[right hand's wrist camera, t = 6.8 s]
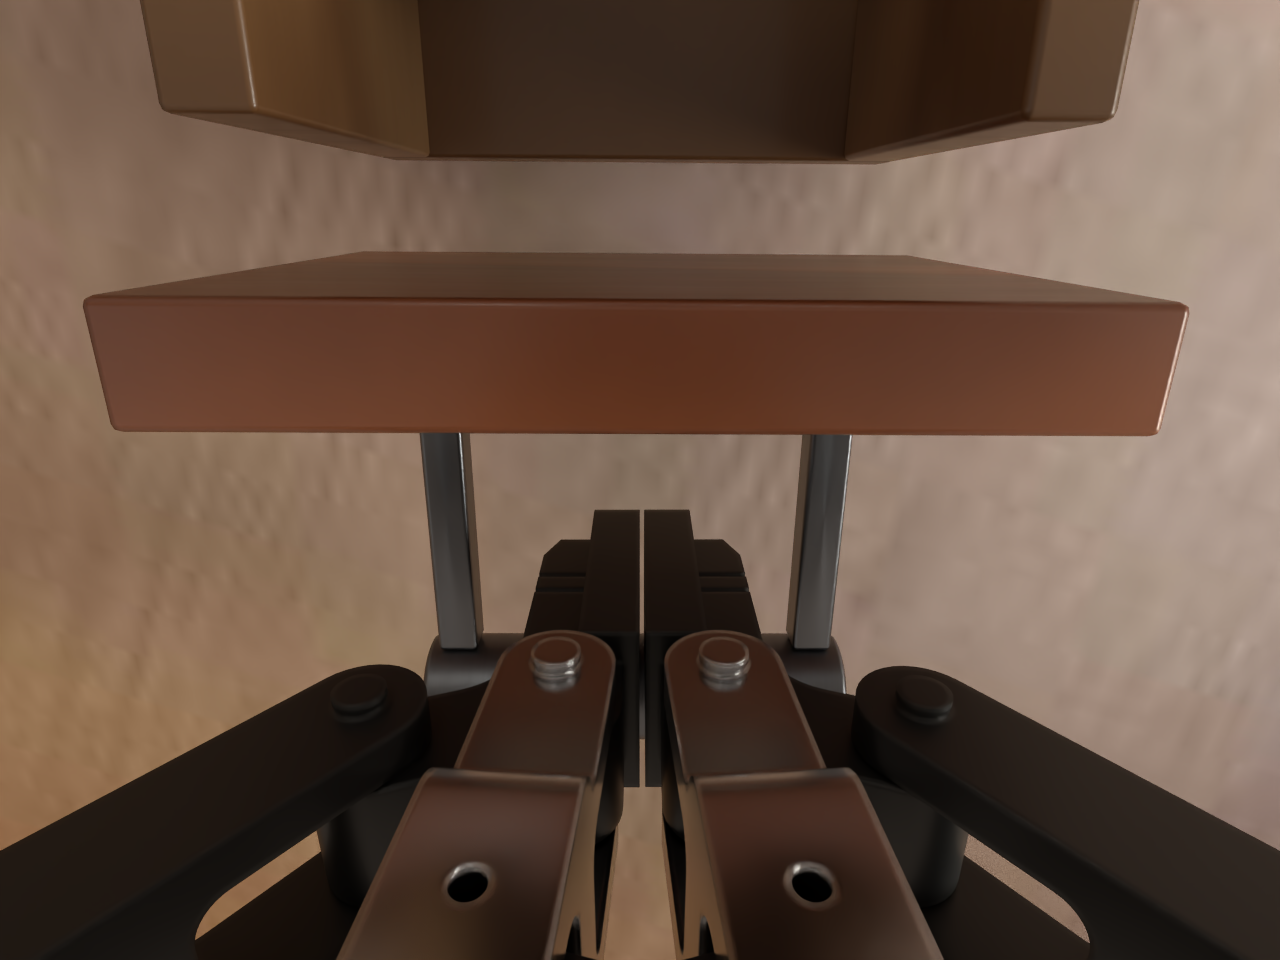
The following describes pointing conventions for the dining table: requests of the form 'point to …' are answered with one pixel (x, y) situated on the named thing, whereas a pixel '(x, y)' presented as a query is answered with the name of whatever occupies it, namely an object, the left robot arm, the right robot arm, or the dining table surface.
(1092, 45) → the drawer
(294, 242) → the dining table surface
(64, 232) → the dining table surface
